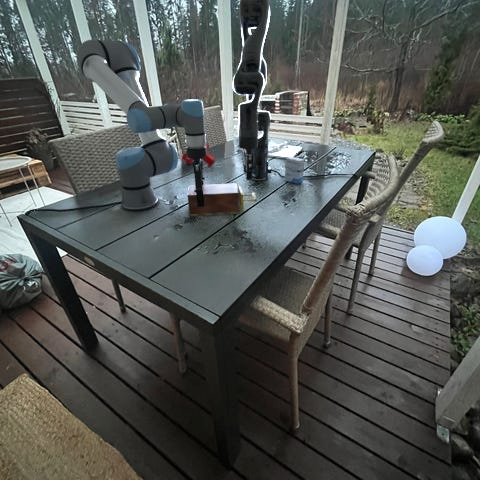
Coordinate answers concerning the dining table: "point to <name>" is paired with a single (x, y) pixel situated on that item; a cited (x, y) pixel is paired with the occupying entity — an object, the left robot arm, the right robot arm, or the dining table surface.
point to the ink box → (294, 170)
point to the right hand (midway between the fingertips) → (247, 176)
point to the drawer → (245, 199)
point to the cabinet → (215, 200)
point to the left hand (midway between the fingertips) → (201, 200)
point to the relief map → (282, 150)
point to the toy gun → (208, 159)
